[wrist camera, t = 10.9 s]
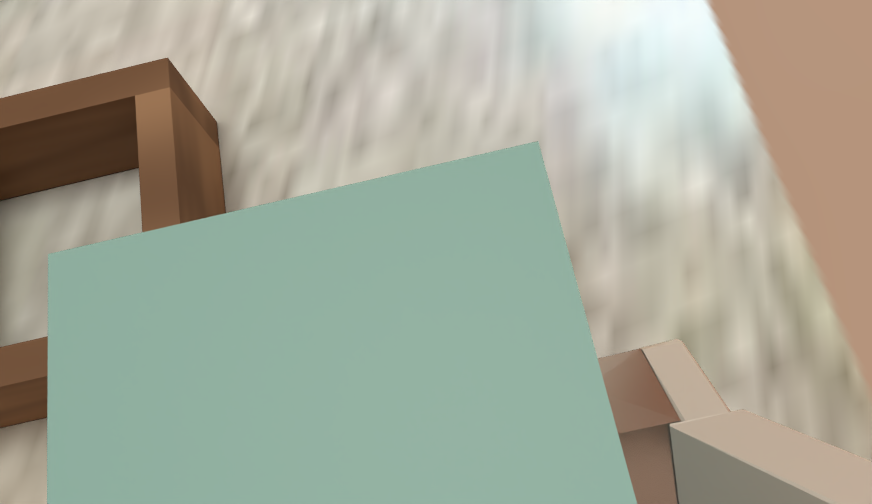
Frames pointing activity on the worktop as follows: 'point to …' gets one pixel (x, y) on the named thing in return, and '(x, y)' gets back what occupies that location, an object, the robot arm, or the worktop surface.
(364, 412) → the teal block
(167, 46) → the worktop surface
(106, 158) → the pocket holder
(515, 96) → the worktop surface
